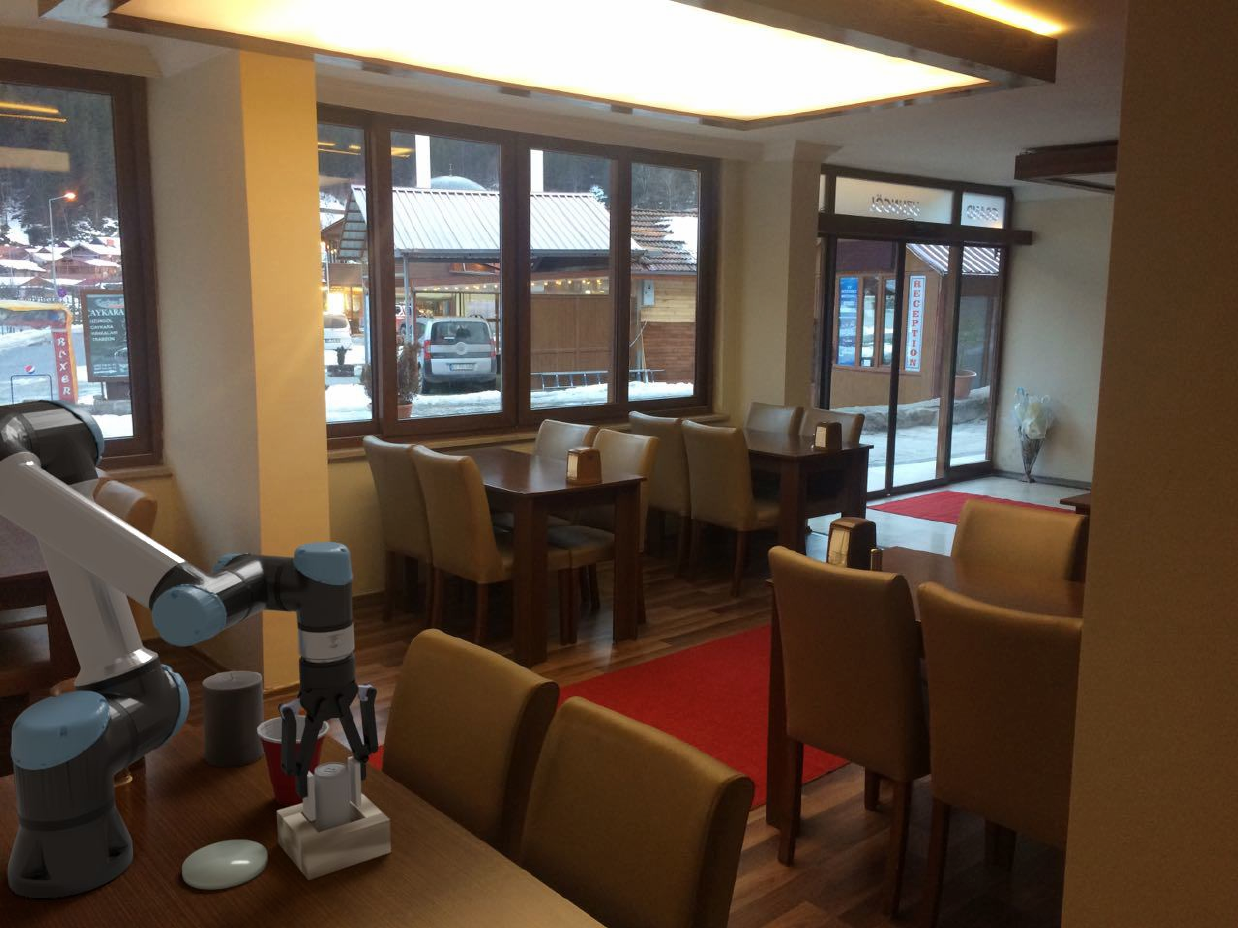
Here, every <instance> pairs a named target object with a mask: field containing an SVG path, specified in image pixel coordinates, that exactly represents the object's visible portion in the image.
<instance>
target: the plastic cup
mask: <svg viewBox="0 0 1238 928" xmlns="http://www.w3.org/2000/svg"><path fill="white" fill-rule="evenodd" d="M305 717H306V715H298V717H297V718H295V719H296V723H297V733H296V757H297V753H298V749H299V745H300V742H301V738H302V734H303V730H304V727H305ZM329 730H330V725H329V722H327V721H324V722H323V726H322V729H321V730H320V731H319V735H318V738H317V742H316V746H315V750H314V753H313V757H312V761H311V765H310V768H309V771H310V772H311V773H312V774H313V775H314V771H315V769H316V768H317V767H318V766H320V762H321V761H320V760H321V754H322V747H323V745H324V740H325V739H326V735H327V734H328V732H329ZM257 731H258V736H259V737H260V738H261V741H262V745H263V749H264V752H265V753H264V755H265V759H266V765H267V770H268V775H269V778H270V783H271V785H272V790H273V793H274V799H275V801H276V803H277V804H279V805H281V806H285V807H291V806H294V805H298V804H301V803H303V798H300V797H299V796H298V795H297V793H296V783H295V776H291V777H289V776H287V775H286V774H285V772H284V771H283V770H282V769H281V737H282V718H281V716H280V717H274V718H270V719H268V720H266V721H264V722H263V723H261V724H260V726H259V727H258V728H257Z"/></svg>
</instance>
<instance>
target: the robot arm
mask: <svg viewBox="0 0 1238 928" xmlns="http://www.w3.org/2000/svg"><path fill="white" fill-rule="evenodd" d="M100 427H101V426H100V425H99V424H98V422H97V420H96V419H95V418H94V417H93V415H92V414H91V413H90V412H89V411H87V410H86V409H84V408H83V407H81V406H79V405H78V404H76V403H74V402H71V401H67V400H64V399H63V400H61V399H54V400H50V399H37V400H32V401H26V402H19V403H18V402H17V403H11V404H10V403H9V404H2V405H0V515H1V516H2V517H4V518H6V519H7V520H9V521H10V522H12V523H14V524H15V525H17V526H19V528H20V529H23V530H25V531H26V532H28V533H29V534H31V535H32V536H34V537H35V538H36V540H37V543H38V546H39V549H40V551H41V552H40V553H41V555H42V557H43V558H42V559H43V561H44V563H45V567H46V569H47V573H48V575H49V577H50V581H51V584H52V587H53V590H54V593H55V596H56V598H57V599H56V600H57V601H58V605H59V607H60V610H61V614H62V616H63V619H64V622H65V625H66V628H67V631H68V634H69V637H70V639H71V641H72V645H73V648H74V651H75V655H76V658H77V659H78V663H79V666H80V671H79V673H78V674H77V677H76V678H75V680H74V681H73V687H74V689H75V691H74V690H73V691H67V692H62V693H60V694H59V695H58V696H49V697H46V698H44V699H41V700H39V701H37V702H35V703H34V704H31V705H30V706H29V707H27V708H26V709H25V710H23V711H22V712H21V713H20V714H19V715H18V716H17V718H16V719H15V721H14V723H13V725H12V727H11V746H10V757H11V758H12V769H13V778H14V788H15V798H16V806H17V807H16V808H17V816H18V817H17V818H18V828H17V832H16V835H15V840H14V843H13V846H12V850H11V854H10V858H9V860H8V863H7V880H8V882H7V883H8V887H9V886H10V887H9V889H10V888H11V889H12V890H11V889H10V890H11V891H12V892H13V891H14V892H15V894H16V895H18V894H19V895H18V896H20V895H22V896H21V897H23V896H25V897H24V898H27V897H29V898H28V899H33V898H53V899H59V898H58V897H61V898H66V897H65V896H67V897H71V896H70V895H72V896H75V894H76V895H78V894H82V893H85V892H86V893H87V892H88V891H91V890H95V889H97V888H98V887H100V886H103V885H105V884H107V883H109V882H110V881H112V880H114V879H116V878H117V877H118V876H120V875H121V874H122V873H124V872H125V870H127V869H128V867H129V866H130V865H131V864H132V861H133V858H134V851H133V850H134V849H133V840H132V837H131V834H130V833H129V830H128V827H126V824H125V821H124V820H123V819H122V816H121V814H120V812H119V810H118V808H117V807H116V798H115V797H116V795H115V781H114V777H115V775H116V774H117V773H119V772H121V771H122V770H124V769H126V768H128V767H129V766H130V765H132V764H134V763H135V762H137V761H138V760H140V759H141V758H143V757H144V756H146V755H148V754H149V753H151V752H152V751H156V750H157V749H159V748H161V747H162V746H164V745H165V744H166V743H167V742H168V741H169V740H170V739H172V737H174V736H176V735H177V733H178V732H179V731H181V729H182V728H183V726H184V723H185V722H186V720H187V719H188V718H187V717H188V715H189V709H190V695H189V694H190V693H189V690H188V687H187V685H186V683H185V681H184V679H183V677H182V676H181V675H180V674H179V673H178V672H174V669H173V668H172V667H171V666H169V665H166V664H163V663H161V661H160V656H159V655H158V653H157V652H155V651H152V650H151V649H148V648H146V647H145V646H144V645H143V642H142V639H141V636H140V633H139V631H138V627H137V624H136V621H135V618H134V615H133V613H132V609H131V606H130V604H129V600H128V598H127V597H129V598H131V599H132V600H133V601H136V602H137V603H138V604H140V605H141V606H143V607H145V608H146V609H147V610H149V611H151V620H152V625H153V627H154V629H156V631H157V633H158V634H159V636H160V638H161V639H162V640H164V641H165V642H166V643H168V644H170V645H172V646H176V647H188V646H192V645H196V644H198V643H201V642H203V641H207V640H210V639H212V638H214V637H216V636H217V635H219V633H220V632H223V631H224V630H226V629H227V628H228V629H229V628H230V627H232V626H234V625H236V624H239V623H240V622H242V621H245V620H246V619H248V618H250V617H252V616H254V615H256V614H258V613H260V612H261V611H277V612H288V613H289V612H291V613H292V612H295V613H296V622H297V624H296V625H297V652H298V655H300V657H299V659H298V671H299V672H298V673H299V675H298V677H299V691H298V694H297V697H296V699H294V700H291V701H290V702H287V703H286V702H281V703H279V704H278V706H277V710H278V712H279V714H280V715H279V716H280V717H281V718H282V737H281V769H282V770H283V771H284V772H285V774H286V775H287V776H289V777H291V776H295V783H296V793H297V795H298V796H299V797H300V798H303V813H304V815H305V816H306V817H307V818H308V819H309V820H310V821H312V820H315V819H316V816H315V792H314V775H313V774H312V773H311V772H310V771H309V768H310V765H311V761H312V757H313V753H314V750H315V746H316V742H317V738H318V735H319V731H320V730H321V729H322V726H323V722H324V721H325V722H327V721H329V720H331V719H339V722H340V724H341V728H342V730H343V732H344V735H345V737H346V741H347V743H348V745H349V747H350V748H349V749H350V750H351V752H352V755H353V756H348V757H347V767H348V771H349V791H350V801H351V802H352V803H353V804H354V805H355V806H356V807H358V806H361V793H362V782H363V781H366V778H367V763H368V761H369V760H370V755H372V754H377V753H378V752H379V750H380V749H379V737H378V730H377V720H376V719H377V718H376V709H375V702H376V698H377V694H378V690H377V688H375V687H374V686H372V685H371V684H369V683H367V682H365V683H364V684H363V685H362V684H360V685H359V684H358V683H357V681H356V658H355V656H356V655H355V654H354V649H355V632H354V631H355V628H354V625H355V624H354V615H353V610H354V609H353V579H354V574H353V571H352V559H351V551H350V550H349V548H348V546H346V545H345V544H343V543H341V542H340V543H339V542H333V541H324V542H322V541H321V542H319V541H315V542H309V543H304V544H302V545H299V546H297V548H295V550H294V552H293V553H294V554H293V556H291V557H289V556H279V555H267V554H266V555H265V554H256V553H250V552H243V553H227V554H225V555H223V556H221V557H220V558H219V559H218V561H217V563H216V564H214V565H213V567H212V569H211V571H210V573H208V572H205V571H204V570H202V569H200V568H199V567H197V566H196V565H194V564H192V563H190V562H189V561H187V560H186V559H184V558H182V557H181V556H179V555H177V554H176V553H175V552H173V551H172V550H170V549H168V548H167V547H165V546H164V545H162V544H161V543H159V542H157V541H156V540H154V539H153V538H151V537H149V536H148V535H146V534H145V533H143V532H142V531H141V530H138V529H137V528H136V527H134V526H132V525H131V524H129V523H127V522H126V521H125V520H123V519H121V518H119V516H117V515H115V514H114V513H112V512H111V511H109V510H107V509H105V508H104V507H103V506H101V505H99V504H98V503H97V502H95V499H94V496H93V494H94V491H95V490H96V487H97V486H98V484H99V482H100V478H99V476H98V472H97V469H96V468H97V466H98V465H99V464H100V463H101V461H102V459H103V456H102V454H103V453H104V452H105V440H104V439H105V438H104V435H103V431H102V430H101V428H100ZM356 698H358V700H359V709H360V720H361V728H362V729H361V730H362V737H363V741H362V738H361V736H360V733H359V731H358V728H357V726H356V723H355V721H354V719H355V718H354V715H353V713H352V710H351V705H352V704H353V702H354V701H355V699H356ZM300 708H303V709H304V711H306V714H305V716H306V717H305V727H304V730H303V734H302V738H301V742H300V745H299V749H298V753H297V757H296V733H297V723H296V719H295V718H297V717H298V716H299V711H300ZM14 892H13V893H14Z"/></svg>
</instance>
